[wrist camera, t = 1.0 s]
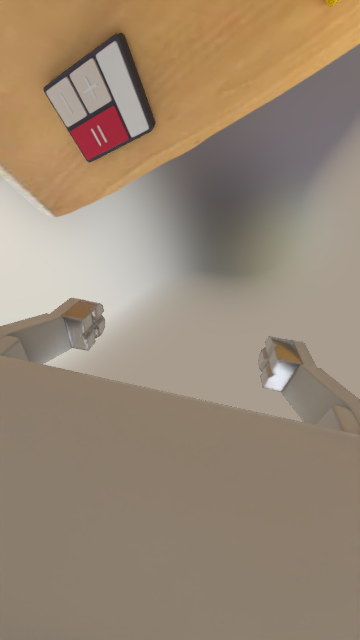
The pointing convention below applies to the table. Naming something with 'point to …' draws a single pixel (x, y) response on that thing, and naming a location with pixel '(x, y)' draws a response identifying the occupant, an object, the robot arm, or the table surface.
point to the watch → (331, 2)
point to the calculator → (102, 100)
